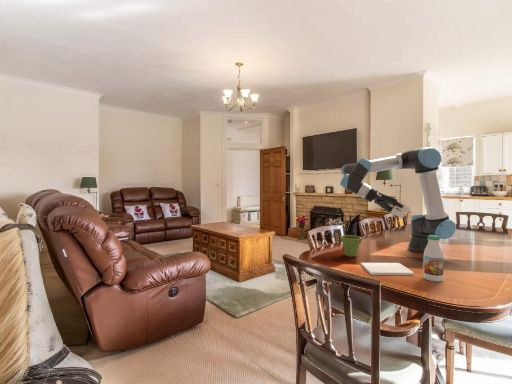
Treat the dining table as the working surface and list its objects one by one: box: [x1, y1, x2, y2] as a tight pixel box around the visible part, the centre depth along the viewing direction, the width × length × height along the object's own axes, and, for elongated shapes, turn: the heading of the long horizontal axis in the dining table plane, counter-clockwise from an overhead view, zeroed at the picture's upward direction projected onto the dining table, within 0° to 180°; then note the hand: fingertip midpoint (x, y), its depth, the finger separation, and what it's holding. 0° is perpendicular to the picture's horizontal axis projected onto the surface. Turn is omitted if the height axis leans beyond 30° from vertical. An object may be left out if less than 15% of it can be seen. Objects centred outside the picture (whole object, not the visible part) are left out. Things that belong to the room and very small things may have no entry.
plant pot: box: [340, 234, 362, 258], centre depth 170 cm, size 12×12×11 cm
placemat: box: [360, 262, 415, 276], centre depth 142 cm, size 20×16×1 cm
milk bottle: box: [422, 235, 444, 282], centre depth 128 cm, size 8×8×20 cm
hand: (406, 213), depth 144 cm, fingers open, 13 cm apart
